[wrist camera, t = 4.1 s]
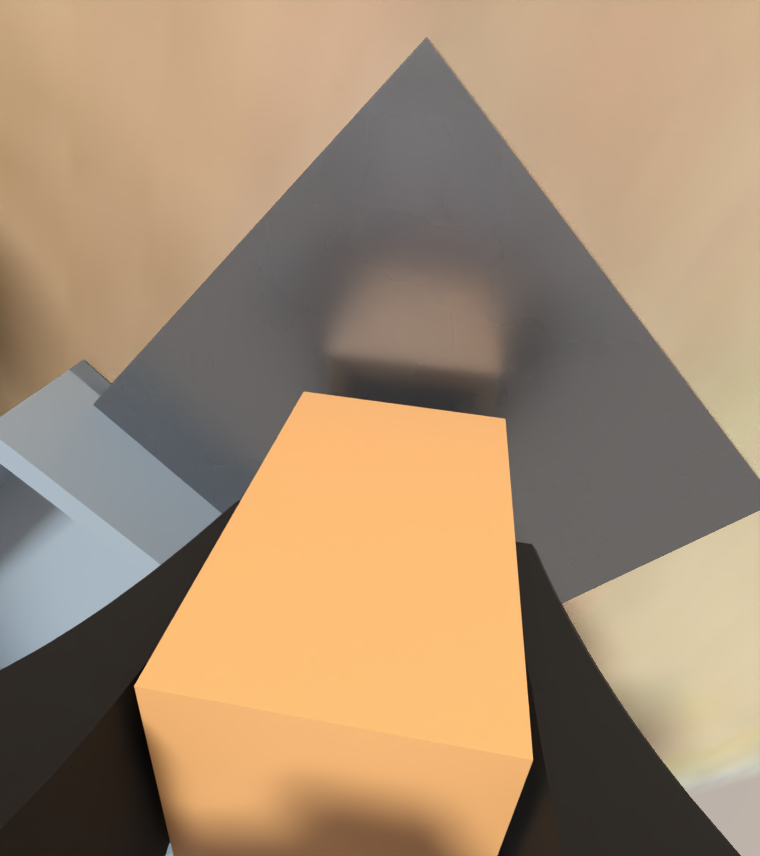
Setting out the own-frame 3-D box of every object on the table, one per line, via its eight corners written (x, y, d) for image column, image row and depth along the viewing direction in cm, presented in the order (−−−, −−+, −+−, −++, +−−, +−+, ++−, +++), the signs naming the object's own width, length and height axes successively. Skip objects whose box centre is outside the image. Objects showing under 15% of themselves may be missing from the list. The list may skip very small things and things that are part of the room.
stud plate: (95, 407, 16) (-73, 547, 11) (430, 41, 10) (390, 1, 6) (392, 658, 19) (362, 848, 14) (758, 476, 14) (905, 680, 9)
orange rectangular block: (302, 542, 14) (176, 868, 8) (303, 391, 12) (133, 685, 6) (473, 569, 14) (469, 930, 8) (505, 418, 12) (533, 760, 6)
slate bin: (-108, 585, 21) (-204, 667, 18) (83, 360, 15) (-16, 427, 12) (188, 780, 25) (149, 873, 22) (434, 664, 19) (426, 772, 16)
